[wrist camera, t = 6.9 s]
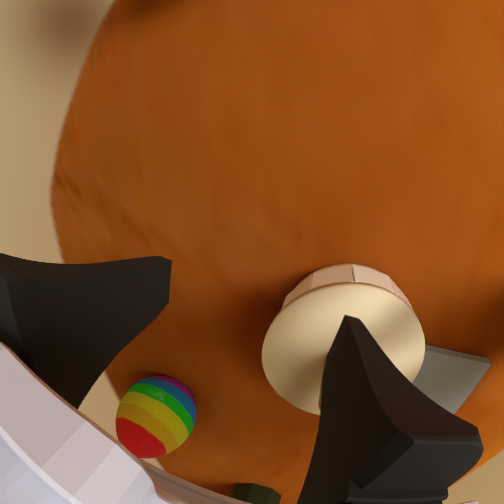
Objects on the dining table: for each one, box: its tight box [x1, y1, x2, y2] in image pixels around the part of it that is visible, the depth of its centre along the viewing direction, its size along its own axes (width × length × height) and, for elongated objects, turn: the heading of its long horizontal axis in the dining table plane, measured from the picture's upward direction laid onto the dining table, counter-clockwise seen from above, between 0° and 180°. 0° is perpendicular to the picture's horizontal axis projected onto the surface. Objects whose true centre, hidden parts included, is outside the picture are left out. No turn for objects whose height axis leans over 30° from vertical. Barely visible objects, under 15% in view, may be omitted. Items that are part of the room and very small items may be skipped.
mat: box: [412, 344, 491, 415], centre depth 20 cm, size 12×12×1 cm
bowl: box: [281, 263, 413, 310], centre depth 19 cm, size 10×10×4 cm
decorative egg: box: [116, 376, 197, 458], centre depth 24 cm, size 8×8×10 cm
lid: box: [262, 282, 425, 415], centre depth 15 cm, size 11×11×4 cm
